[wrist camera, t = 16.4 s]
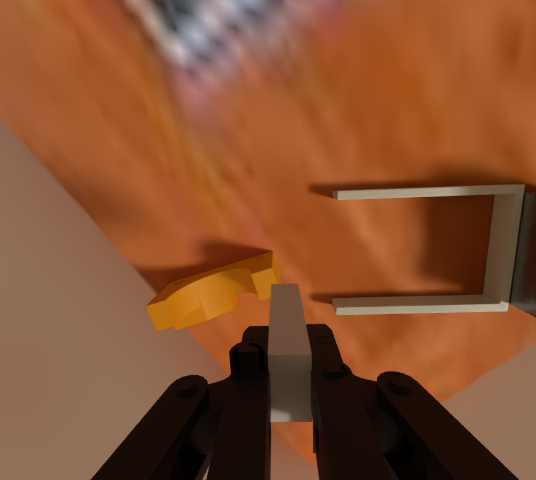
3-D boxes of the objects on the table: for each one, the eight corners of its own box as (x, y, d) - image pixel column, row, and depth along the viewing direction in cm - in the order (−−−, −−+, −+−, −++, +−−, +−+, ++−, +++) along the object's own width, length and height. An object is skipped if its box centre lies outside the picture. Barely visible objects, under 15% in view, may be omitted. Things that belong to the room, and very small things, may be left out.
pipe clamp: (185, 316, 33) (163, 347, 27) (171, 281, 32) (145, 306, 26) (284, 286, 32) (286, 312, 26) (272, 250, 31) (272, 268, 25)
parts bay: (332, 190, 30) (337, 191, 27) (503, 184, 29) (524, 184, 27) (331, 304, 32) (336, 314, 30) (489, 301, 31) (507, 311, 29)
